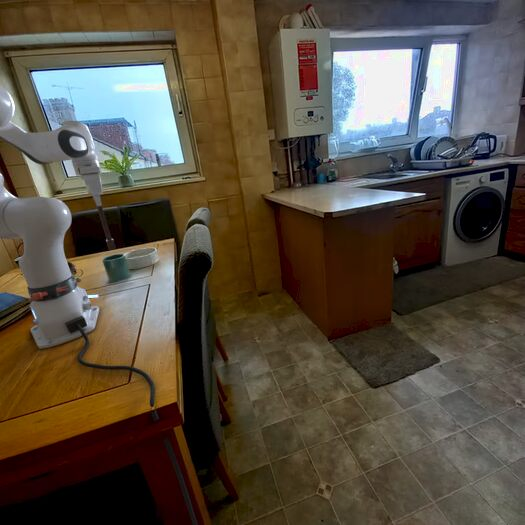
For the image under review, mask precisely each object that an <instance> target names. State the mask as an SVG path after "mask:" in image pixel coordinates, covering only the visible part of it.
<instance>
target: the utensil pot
mask: <svg viewBox="0 0 525 525" xmlns="http://www.w3.org/2000/svg"><path fill="white" fill-rule="evenodd" d="M124 254H125V253H115V254H111V255H107V256H105V257H103V258H102V259H101V261H102V264H103V267H104V270H105V274H106V276H107V279H108V281H109V283H118V282H121V281H125V280H126V279H128V278H130V277H131V271H130V269H129V268H128V264H127V261H126V258H125V255H124Z"/></svg>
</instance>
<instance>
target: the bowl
mask: <svg viewBox="0 0 525 525" xmlns="http://www.w3.org/2000/svg"><path fill="white" fill-rule="evenodd" d="M123 254H124V255H125V258H126V261H127V264H128V268H129V270H137V269H143V268H147V267H150V266H153V265H155V264H156V263H158V262H159V261H160V256H159V252H158V249H157V248H156V247H151V246H149V247H141V248H137V249H133V250H129V251H126V252H125V253H123Z"/></svg>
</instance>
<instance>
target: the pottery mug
mask: <svg viewBox="0 0 525 525" xmlns="http://www.w3.org/2000/svg"><path fill="white" fill-rule="evenodd" d="M67 263H68V266H69V269H70V272H71V274H73V273H75V274H77V268H76V265H75V264H73V262H71V261H67Z"/></svg>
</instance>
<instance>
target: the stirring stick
mask: <svg viewBox="0 0 525 525" xmlns="http://www.w3.org/2000/svg"><path fill="white" fill-rule="evenodd" d="M96 208H97V212H98V214H99V218H100V221H101V225H102V228H103V231H104V235H105V238H106V239H105V243H106V245H107V249H108V250H109V251H112V250H116V249H117V248H116V244H115V240H114V239H113V238H112V235H111V232H110V229H109V225H108V223H107V218H106V215H105V212H104V209H103V206H96Z"/></svg>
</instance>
